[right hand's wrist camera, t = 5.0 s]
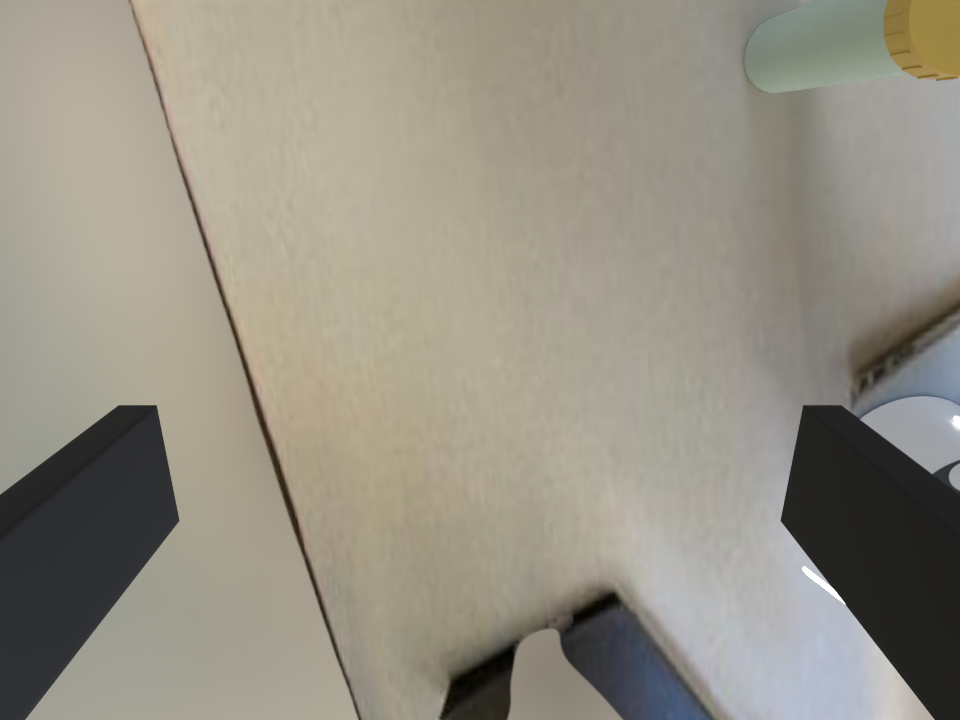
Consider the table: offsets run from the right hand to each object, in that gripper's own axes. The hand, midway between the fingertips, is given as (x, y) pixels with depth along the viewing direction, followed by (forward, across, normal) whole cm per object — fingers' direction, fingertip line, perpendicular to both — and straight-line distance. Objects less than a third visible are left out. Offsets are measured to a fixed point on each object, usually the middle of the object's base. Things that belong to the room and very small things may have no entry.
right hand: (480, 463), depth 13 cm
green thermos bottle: (+41, +23, +12) cm, 48 cm away
